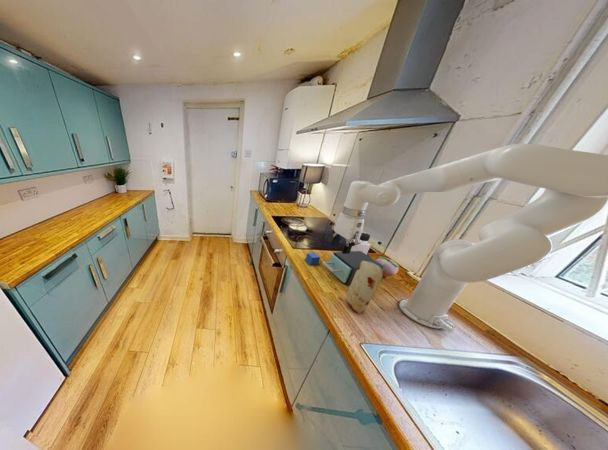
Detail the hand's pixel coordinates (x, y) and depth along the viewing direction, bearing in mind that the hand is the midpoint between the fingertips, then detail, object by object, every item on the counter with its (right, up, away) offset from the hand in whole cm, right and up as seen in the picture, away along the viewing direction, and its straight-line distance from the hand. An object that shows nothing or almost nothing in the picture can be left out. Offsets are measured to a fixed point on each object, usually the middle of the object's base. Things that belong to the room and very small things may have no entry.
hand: (339, 248), depth 88 cm
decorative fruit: (+27, -14, +9) cm, 31 cm away
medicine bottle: (+29, -5, +28) cm, 41 cm away
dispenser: (+11, -14, +8) cm, 19 cm away
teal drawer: (+6, -13, +7) cm, 16 cm away
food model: (-1, -22, -10) cm, 24 cm away
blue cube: (-4, -9, +17) cm, 20 cm away
